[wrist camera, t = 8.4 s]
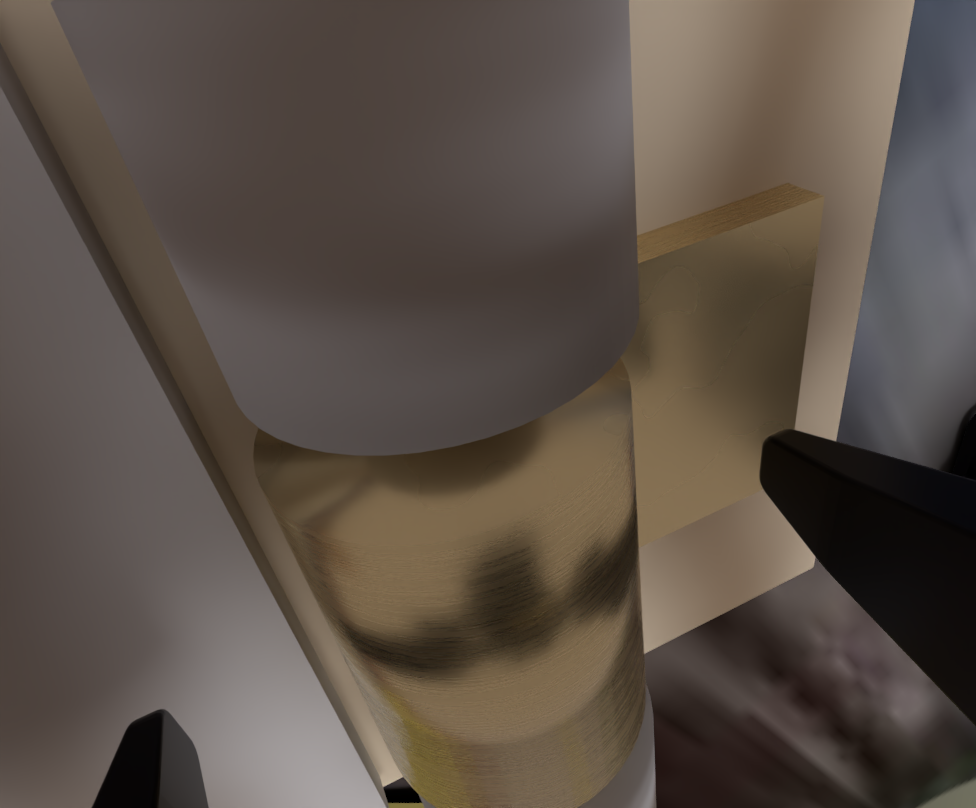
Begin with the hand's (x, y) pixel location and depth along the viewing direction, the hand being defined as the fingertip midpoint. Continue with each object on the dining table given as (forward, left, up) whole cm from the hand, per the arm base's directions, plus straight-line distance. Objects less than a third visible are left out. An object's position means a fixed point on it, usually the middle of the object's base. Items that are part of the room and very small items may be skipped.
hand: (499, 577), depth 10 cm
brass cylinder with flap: (-2, 0, -3) cm, 3 cm away
